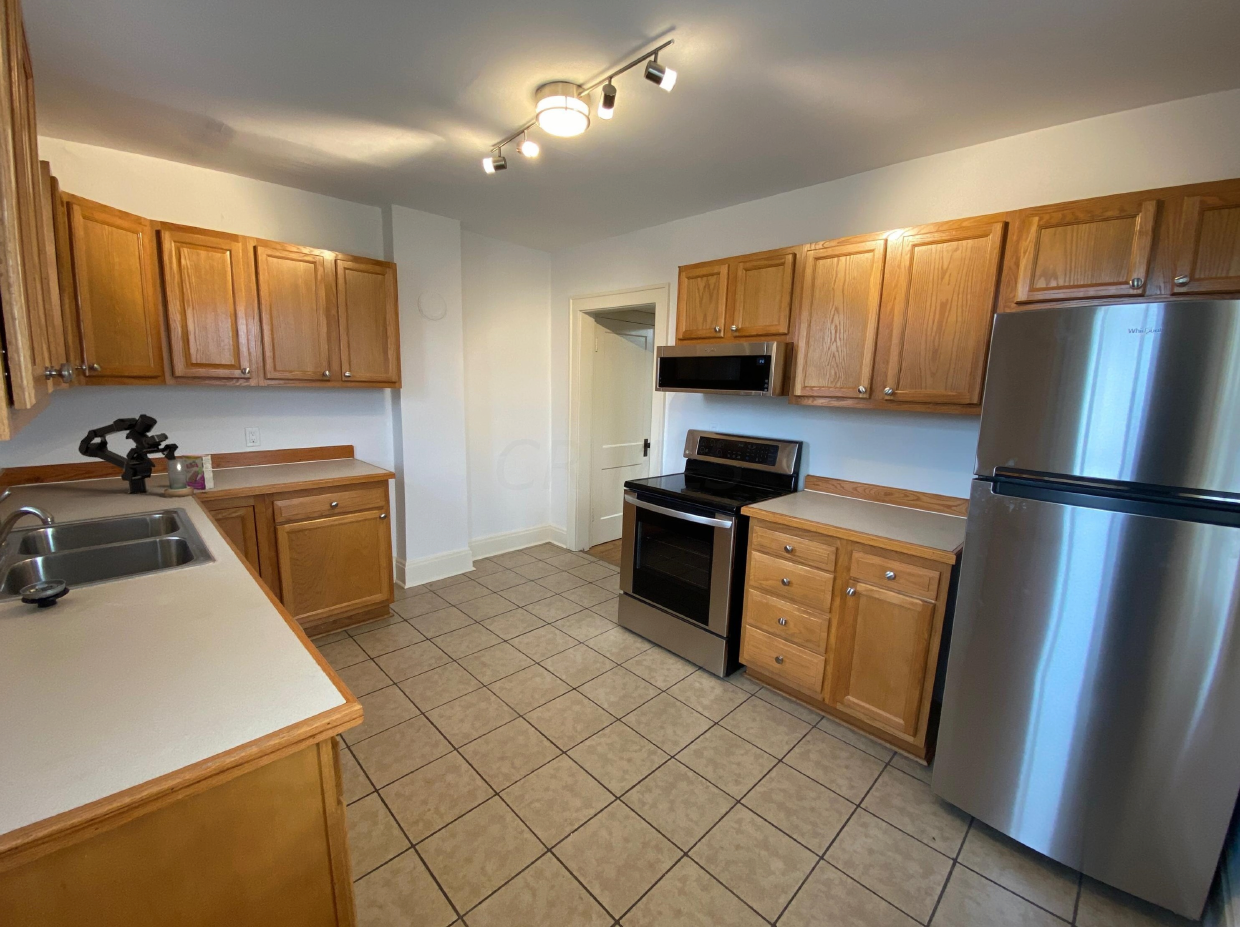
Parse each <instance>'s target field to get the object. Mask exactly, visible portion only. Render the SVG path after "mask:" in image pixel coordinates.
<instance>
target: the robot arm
mask: <svg viewBox="0 0 1240 927" xmlns="http://www.w3.org/2000/svg"><path fill="white" fill-rule="evenodd" d="M157 424H158V420H157V419H156V418H154V417H153V416H151V415H147V414H146V413H142V414H140V415H139V417H138V418H136V417H124V418H122V417H121V418H116V419H115V420H114V421H113V422H112V423H111V424H107V425H104V426H101V427H97V428H93V429H89V430H88V431H87V435H86V436H84V437H83V438H82V439H81V441H80V442H79V445H78V453H80V454H81V455H82V456H83V457H88V458H94V459H95V458H97V459H100V460H103V461H105V462H107V463H109V464H111V465H114V466H116V467H118V468H120V469H122V470H123V473H122V474H121V475H120V478H121V480H122V481H125V482H126V481H127V482H128V488H129V491H128V492H127V494H128V495H131V494H132V495H135V494H145V493H148V492H149V491H150V489H149V488H148V487H147V482H146V481H147V480H146V479H150V478H151V477H152V474H153V468H155V467H156V464H155V463H154V462H153V460H152V459H151V458H150V457H149V456H148V455H152V454H161V455H162V456H164V458H165V459H166V460H172V459H177V458H176V455H175V454H176V452H177V450H178V449H179V445H178V444H176V443H165V444H164V446H163V447H161V446H162V443H163V442H166V441H167V440H169V436H168V435H167V433H165V432H161V433H159V434H153V435H149V434H148V433H151V432H152V430H153V429H154V428H155V427H156V425H157ZM120 432H127V433H126V435H125V440H132V442H133V443H134V444H135V446H134V447H131V448H130V450H128V452H127V453H126V454H125V456H126V457H125V456H122V455H121V454H119V453H116V452H114V451H111V450H110V449H109V448H108V444H109V442H108V441H107V439H106V438H107V436H110V435H114V434H117V433H120ZM99 438H100V440H99V441H96V442H93V441H95V439H99Z"/></svg>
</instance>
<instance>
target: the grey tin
mask: <svg viewBox="0 0 1240 927" xmlns="http://www.w3.org/2000/svg"><path fill="white" fill-rule="evenodd" d="M166 468H167V476H168V487H169V488H170V490H179V489H186V488H187V480H186V471H185V463H184V459H182V458H176V459H172V460H168V459H166Z"/></svg>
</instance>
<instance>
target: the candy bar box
mask: <svg viewBox="0 0 1240 927" xmlns="http://www.w3.org/2000/svg"><path fill="white" fill-rule="evenodd" d="M180 456H181V459H184V463H185V471H186V480H187V487H193V489H194V490H205V489H206V490H211V489H214V488H215V484H214V483H215V482H214V473H213V462H212V455H211V454H199V453H188V454H181V455H180ZM210 488H211V489H210Z"/></svg>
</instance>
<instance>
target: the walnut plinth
mask: <svg viewBox="0 0 1240 927" xmlns="http://www.w3.org/2000/svg"><path fill="white" fill-rule="evenodd" d="M194 490H195V489H193V487H187V488H186V489H179V490H170V487H169V488H165V489H163V492H164V498H166V497H178V498H185V496H186V497H190V496H191V497H192V496H193V495H195V492H194Z"/></svg>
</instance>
